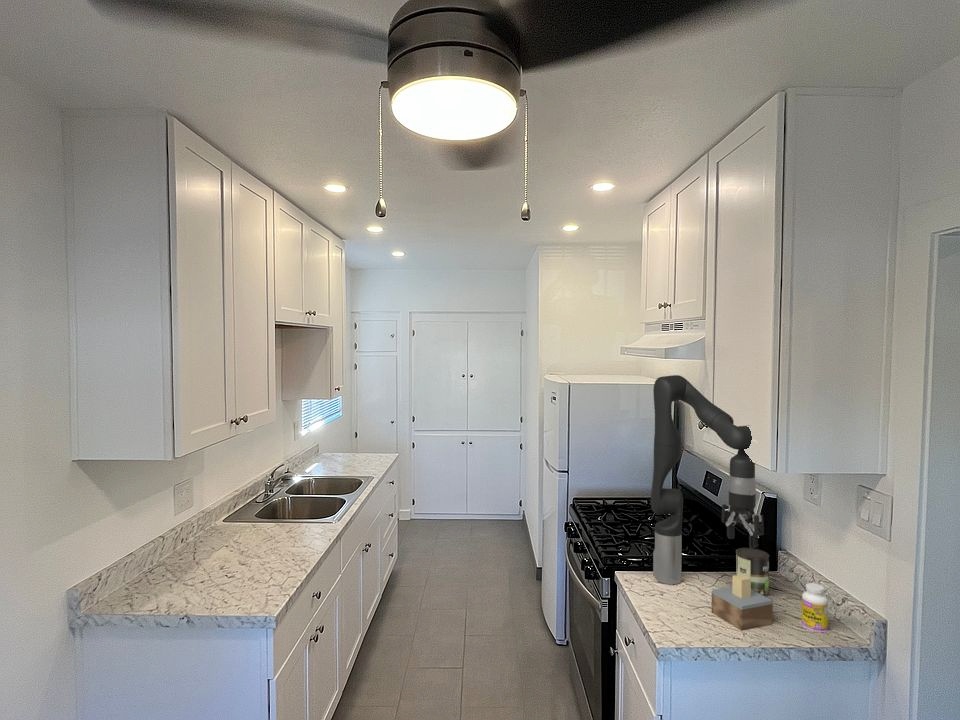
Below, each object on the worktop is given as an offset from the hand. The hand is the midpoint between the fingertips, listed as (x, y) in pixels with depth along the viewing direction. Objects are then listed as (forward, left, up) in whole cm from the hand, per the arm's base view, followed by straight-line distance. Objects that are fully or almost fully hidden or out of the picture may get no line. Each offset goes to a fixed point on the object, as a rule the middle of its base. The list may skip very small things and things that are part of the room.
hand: (741, 543), depth 166 cm
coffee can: (-14, +19, -24) cm, 34 cm away
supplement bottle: (+11, +17, -24) cm, 32 cm away
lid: (0, 0, -18) cm, 18 cm away
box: (0, 0, -24) cm, 24 cm away
